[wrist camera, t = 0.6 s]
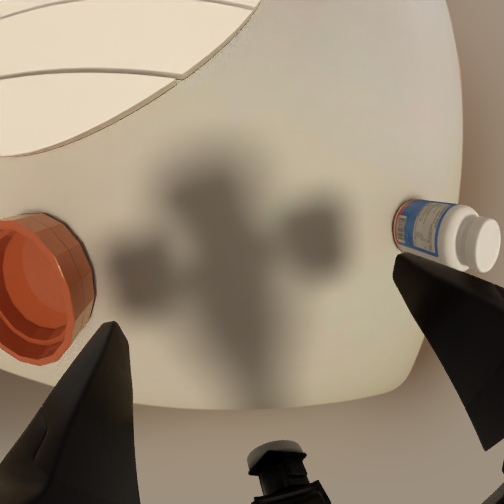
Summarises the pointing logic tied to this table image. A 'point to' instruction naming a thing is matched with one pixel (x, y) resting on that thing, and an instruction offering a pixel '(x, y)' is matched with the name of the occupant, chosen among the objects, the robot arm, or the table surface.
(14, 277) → the bowl
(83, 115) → the round slatted board
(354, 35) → the table surface
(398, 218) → the pill bottle
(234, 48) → the table surface
